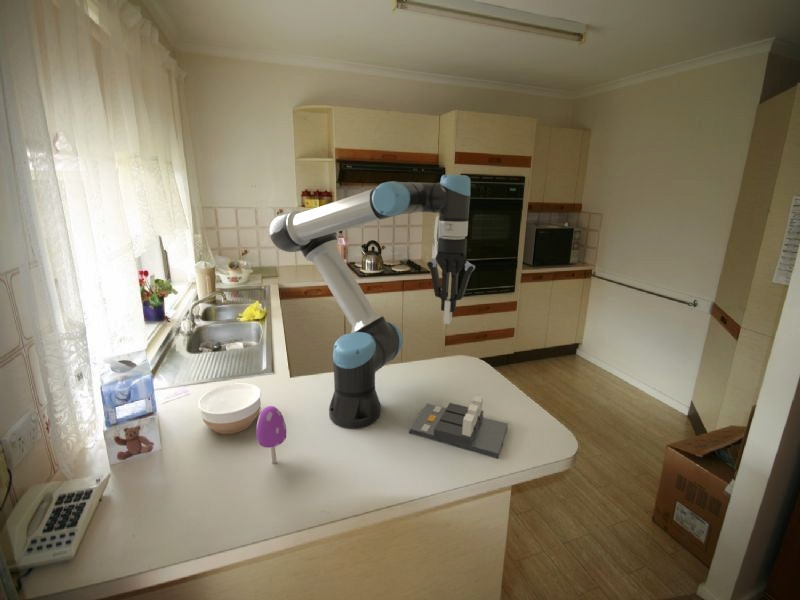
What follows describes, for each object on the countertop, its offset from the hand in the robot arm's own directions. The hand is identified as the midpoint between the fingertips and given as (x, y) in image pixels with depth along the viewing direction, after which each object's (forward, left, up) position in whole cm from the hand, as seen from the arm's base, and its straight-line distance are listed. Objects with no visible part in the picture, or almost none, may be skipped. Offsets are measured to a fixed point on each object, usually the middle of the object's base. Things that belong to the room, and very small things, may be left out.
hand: (447, 322), depth 108 cm
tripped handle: (+10, -7, -25) cm, 28 cm away
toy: (-30, -38, -29) cm, 57 cm away
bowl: (-52, -30, -29) cm, 66 cm away
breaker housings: (+7, -7, -27) cm, 29 cm away
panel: (+7, -7, -28) cm, 30 cm away
